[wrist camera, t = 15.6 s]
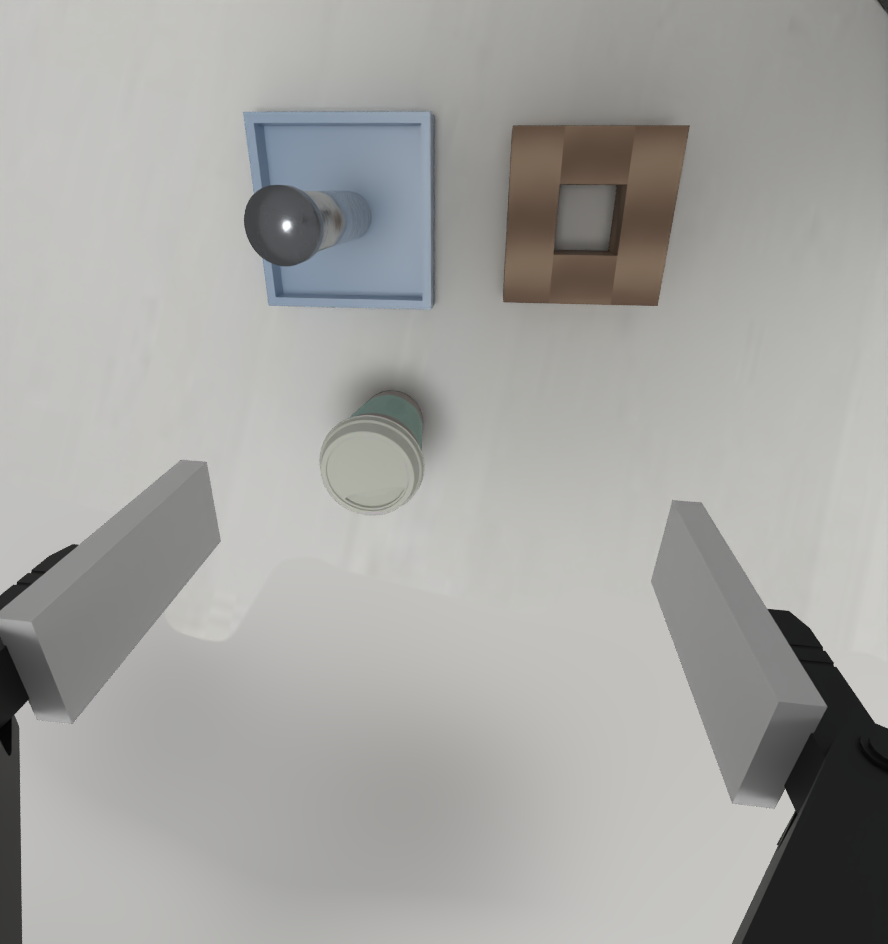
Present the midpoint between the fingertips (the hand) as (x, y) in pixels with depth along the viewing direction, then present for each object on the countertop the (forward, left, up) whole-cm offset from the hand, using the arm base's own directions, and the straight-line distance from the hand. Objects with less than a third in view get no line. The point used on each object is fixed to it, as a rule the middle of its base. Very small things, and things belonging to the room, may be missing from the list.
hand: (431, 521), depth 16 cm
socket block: (-6, +8, -36) cm, 38 cm away
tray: (-6, -11, -36) cm, 38 cm away
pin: (-6, -11, -36) cm, 38 cm away
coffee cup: (+12, -8, -37) cm, 39 cm away
